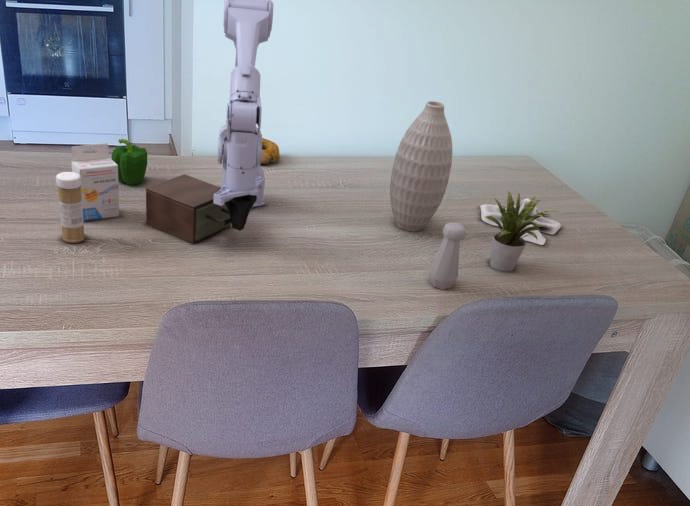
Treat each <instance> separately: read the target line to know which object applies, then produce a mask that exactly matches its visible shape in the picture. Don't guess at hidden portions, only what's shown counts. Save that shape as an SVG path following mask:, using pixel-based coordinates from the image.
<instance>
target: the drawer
mask: <svg viewBox="0 0 690 506" xmlns="http://www.w3.org/2000/svg"><path fill="white" fill-rule="evenodd" d="M231 224H232V223H231V218H230V215H229V211H228V209H227V207H226V205H225V203H224V205H223V206H220V205H217V204H214V203H213V202H211V203H209V204H206V205H204V206H201V207H199V208H197V209H196V213H195V240H199V239H201V238H203V237H205V236H207V235H210V234H212V233H214V232H216V231H218V230H220V229H222V228H224V227H227V226H229V227H230V225H231Z"/></svg>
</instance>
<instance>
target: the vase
mask: <svg viewBox="0 0 690 506" xmlns="http://www.w3.org/2000/svg"><path fill="white" fill-rule="evenodd" d="M452 139H453V138H452V134H451V130H450V126H449V124H448V121H447V118H446V114H445V104H444V103H442V102H439V101H435V100H430V101H427V102H426V103H425V106H424V109H422V111H421V113H420V114H419V115H418V116H417V117H416V118H415V119H414V120H413V122H412V123H411V124H410V125H409V127H408V128H407V129H406V131H405V133H403V136H402V138H401V140H400V142H399V145H398V147H397V150H396V153H395V157H394V160H393V164H392V169H391V171H392V172H391V176H390V184H389V199H390V207H391V208H390V209H391V213H392V216H393V218H394V221H395V223H396V226H397V227H398V228H400V229H401V230H404V231H408V232H419V231H421V230H422V229H424V227H426V226H427V225H428V223H430V221H431V220H432V219H433V217H434V215H435V214H436V213H437V211H438V209H439V207H440V205H441V203H442V201H443V199H444V196H445V194H446V190H447V187H448V183H449V179H450V176H451V170H452V166H453V165H452V164H453V140H452Z"/></svg>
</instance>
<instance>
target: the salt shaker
mask: <svg viewBox="0 0 690 506" xmlns="http://www.w3.org/2000/svg"><path fill="white" fill-rule="evenodd" d="M466 231H467V229H466V227H465V226H464V225H463V224H461V223H459V222H455V221H454V222H447V223H446V224H444V226H443V228H442V235H443V239H442V241H441V243H440V246H439V248H438V249H437V252H436V255H435V257H434V259H433V261H432V263H431V265H430V267H429V270H428V276H429V281H430V284H431V285H432V286H433V287H434V288H437V289H441V290H447V289H450V288H452V287H453V285H454V284H455V282H456V281H457V279H458V277H459V265H460V264H459V263H460V249H461V248H460V246H461V241H462V240H464V238H465V236H466V233H467V232H466Z"/></svg>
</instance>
